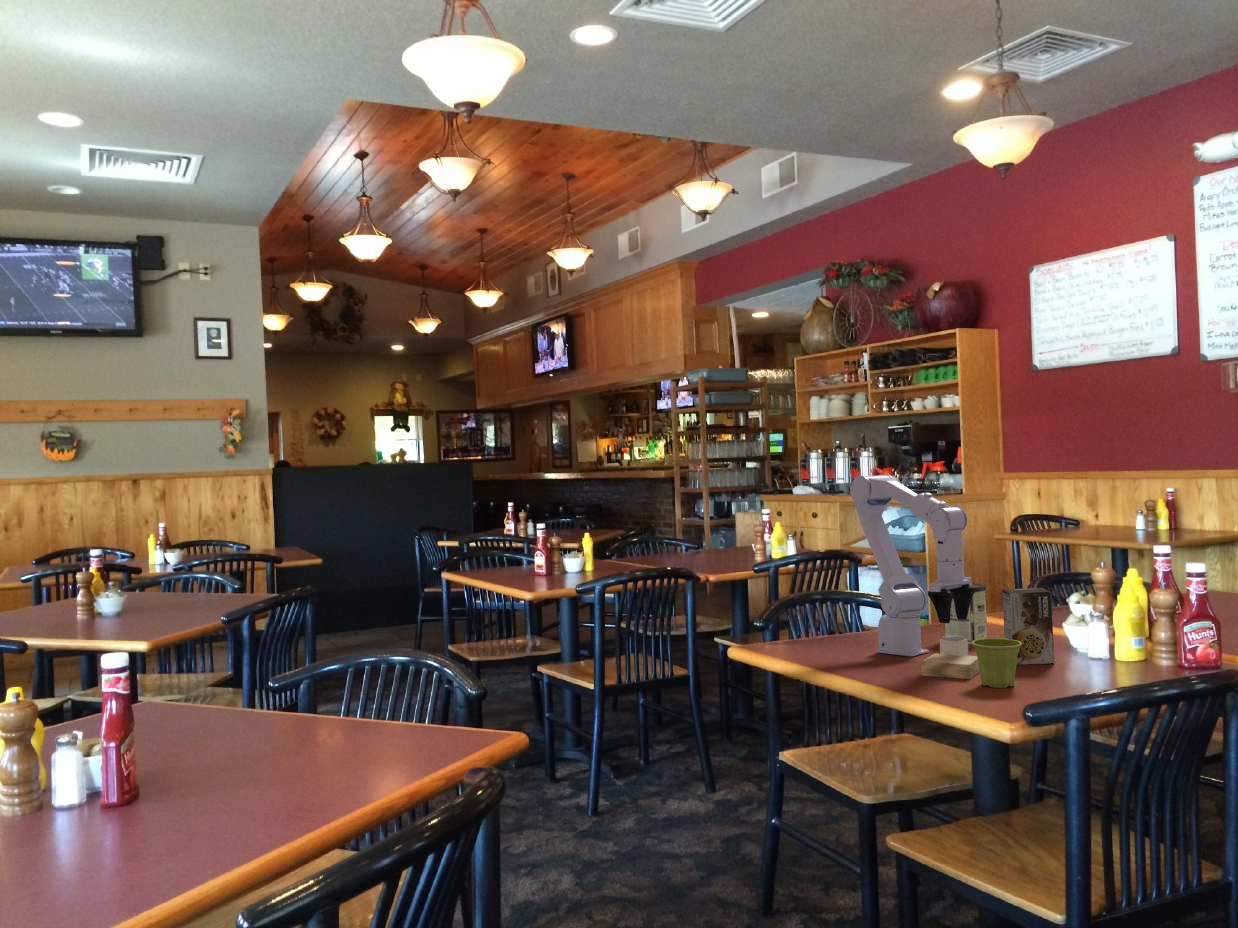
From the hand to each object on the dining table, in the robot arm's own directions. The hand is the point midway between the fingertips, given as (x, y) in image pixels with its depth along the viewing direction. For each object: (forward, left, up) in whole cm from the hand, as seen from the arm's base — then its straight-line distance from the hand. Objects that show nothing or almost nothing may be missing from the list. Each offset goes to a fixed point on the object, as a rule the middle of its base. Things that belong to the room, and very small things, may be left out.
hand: (953, 620), depth 224 cm
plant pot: (+18, -15, -10) cm, 25 cm away
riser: (+5, -10, -10) cm, 15 cm away
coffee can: (-12, +27, -10) cm, 31 cm away
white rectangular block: (0, 0, -10) cm, 10 cm away
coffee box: (+12, +11, -10) cm, 19 cm away
